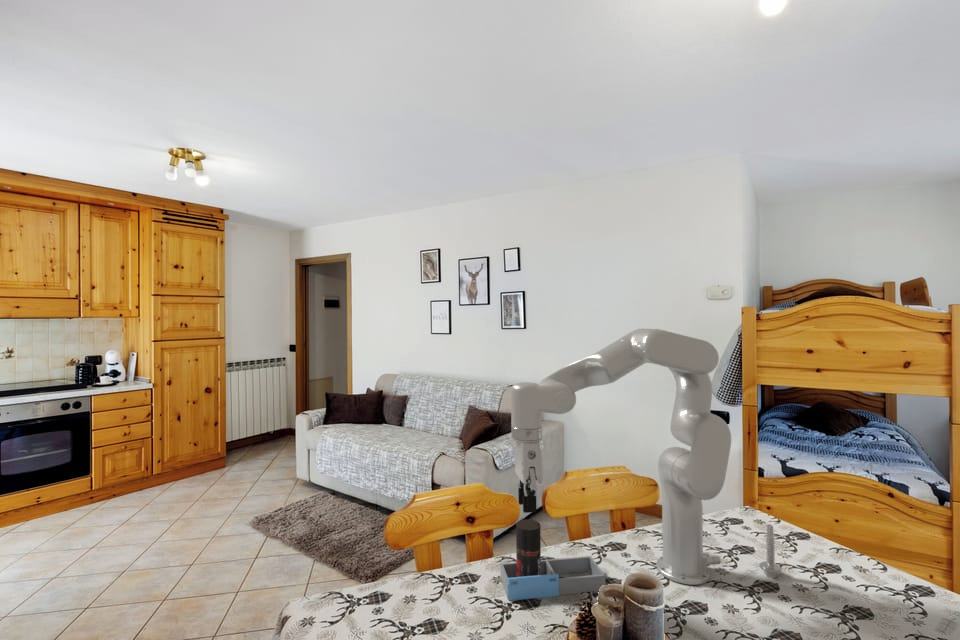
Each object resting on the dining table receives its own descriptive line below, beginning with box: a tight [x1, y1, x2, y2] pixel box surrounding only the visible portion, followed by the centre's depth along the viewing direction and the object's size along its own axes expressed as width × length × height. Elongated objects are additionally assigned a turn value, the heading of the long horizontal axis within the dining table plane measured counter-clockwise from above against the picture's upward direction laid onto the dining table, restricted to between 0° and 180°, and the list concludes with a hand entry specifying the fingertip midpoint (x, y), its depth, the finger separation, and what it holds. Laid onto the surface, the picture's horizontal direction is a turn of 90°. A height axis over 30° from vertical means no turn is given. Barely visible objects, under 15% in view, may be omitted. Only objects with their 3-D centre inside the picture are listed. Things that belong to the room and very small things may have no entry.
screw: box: [758, 523, 783, 579], centre depth 114 cm, size 13×5×5 cm
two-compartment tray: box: [499, 555, 606, 602], centre depth 111 cm, size 24×10×5 cm, turn 98°
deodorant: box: [515, 518, 542, 577], centre depth 110 cm, size 6×6×15 cm
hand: (527, 507), depth 111 cm, fingers open, 4 cm apart
